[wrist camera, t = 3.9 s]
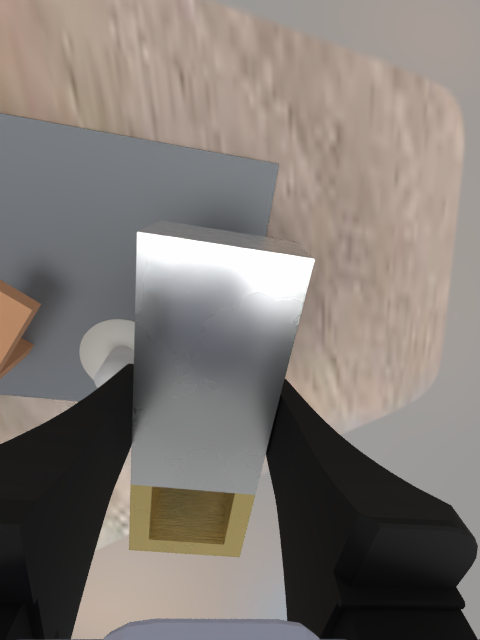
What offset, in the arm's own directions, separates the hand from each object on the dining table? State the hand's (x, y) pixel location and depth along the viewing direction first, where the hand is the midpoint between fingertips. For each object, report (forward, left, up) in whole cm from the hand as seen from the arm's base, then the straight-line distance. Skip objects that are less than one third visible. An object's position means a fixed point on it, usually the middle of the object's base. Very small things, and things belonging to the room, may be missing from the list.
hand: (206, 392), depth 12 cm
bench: (-6, +1, -9) cm, 11 cm away
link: (0, -1, -1) cm, 2 cm away
